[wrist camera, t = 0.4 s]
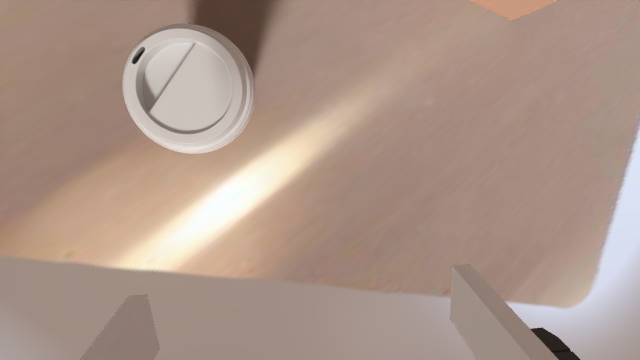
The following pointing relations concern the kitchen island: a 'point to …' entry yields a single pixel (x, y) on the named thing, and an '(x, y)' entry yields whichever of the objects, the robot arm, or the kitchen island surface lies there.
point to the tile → (513, 6)
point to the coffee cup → (188, 88)
